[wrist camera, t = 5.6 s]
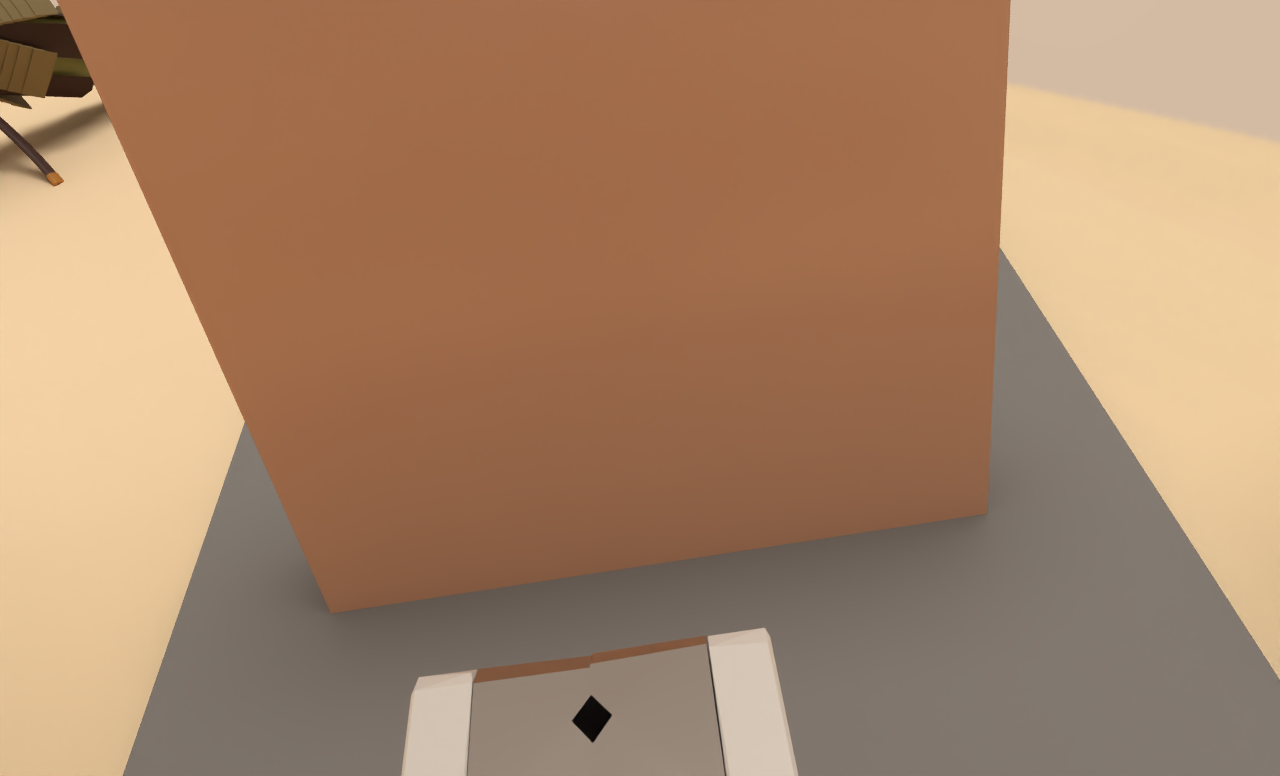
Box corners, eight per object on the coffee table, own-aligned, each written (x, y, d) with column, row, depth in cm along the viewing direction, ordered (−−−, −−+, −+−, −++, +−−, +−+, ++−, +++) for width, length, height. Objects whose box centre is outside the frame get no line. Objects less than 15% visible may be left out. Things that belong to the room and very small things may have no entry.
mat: (17, 1150, 15) (-2, 1135, 15) (306, 276, 33) (300, 261, 32) (1433, 956, 14) (1445, 935, 14) (941, 173, 32) (941, 157, 32)
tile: (330, 613, 21) (29, -61, 14) (345, 541, 23) (80, -100, 15) (987, 513, 21) (1020, -233, 14) (957, 446, 22) (972, -255, 15)
